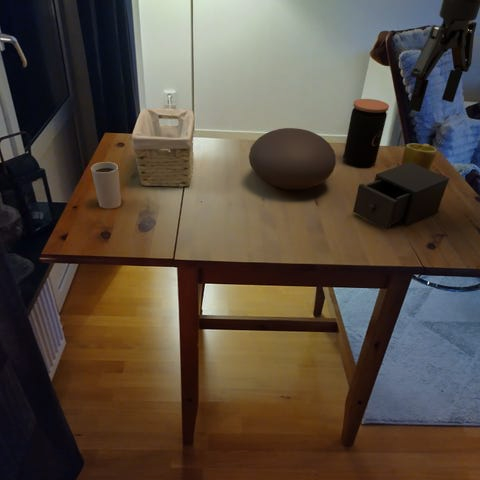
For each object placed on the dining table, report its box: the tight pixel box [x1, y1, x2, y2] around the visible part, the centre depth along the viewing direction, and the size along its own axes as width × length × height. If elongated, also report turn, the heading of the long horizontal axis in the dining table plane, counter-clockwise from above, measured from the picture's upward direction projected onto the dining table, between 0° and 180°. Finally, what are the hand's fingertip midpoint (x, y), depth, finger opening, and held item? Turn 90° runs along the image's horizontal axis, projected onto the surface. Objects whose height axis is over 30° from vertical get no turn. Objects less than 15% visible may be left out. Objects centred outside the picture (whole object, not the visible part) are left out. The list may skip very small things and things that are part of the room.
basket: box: [131, 108, 195, 188], centre depth 135 cm, size 24×16×15 cm
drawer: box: [352, 179, 412, 231], centre depth 120 cm, size 15×11×8 cm
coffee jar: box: [343, 98, 390, 169], centre depth 145 cm, size 11×11×18 cm
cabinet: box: [374, 162, 450, 227], centre depth 124 cm, size 15×13×10 cm
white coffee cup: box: [90, 161, 122, 210], centre depth 120 cm, size 7×7×10 cm
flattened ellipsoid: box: [248, 127, 337, 190], centre depth 132 cm, size 25×25×15 cm
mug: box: [401, 142, 437, 171], centre depth 145 cm, size 12×10×10 cm
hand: (431, 105), depth 109 cm, fingers open, 13 cm apart
